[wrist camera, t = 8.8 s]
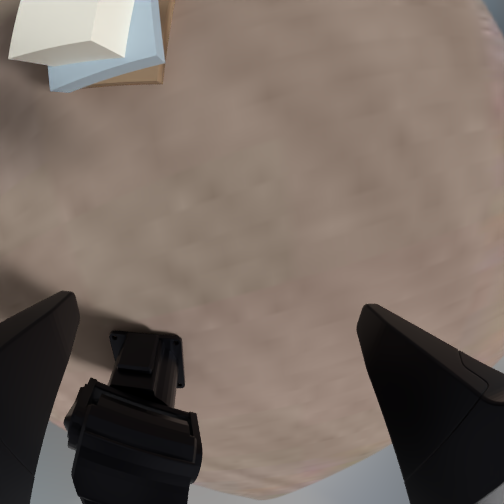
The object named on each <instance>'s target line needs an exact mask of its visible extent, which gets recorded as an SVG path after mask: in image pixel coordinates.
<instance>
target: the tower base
mask: <svg viewBox="0 0 504 504" xmlns="http://www.w3.org/2000/svg"><path fill="white" fill-rule="evenodd" d="M158 3H159V13H160V23H161V32H162V40H163V49H164V56H165V60H166V53H167V46H168V39H169V32H170V26H171V20H172V14H173V9H174V3H175V0H158ZM164 68H165V63H164V64H160V65H156V66H151V67H148V68H144V69H140V70H136V71H133V72H129V73H126V74H122V75H119V76H116V77H112V78H109V79H106V80H103V81H100V82H97V83H94V84H91V85H89V86H86V87H83V88H93V87H104V86H118V85H140V84H163V77H164ZM83 88H80V89H83Z"/></svg>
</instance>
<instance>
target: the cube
mask: <svg viewBox="0 0 504 504" xmlns="http://www.w3.org/2000/svg"><path fill="white" fill-rule="evenodd" d="M134 2H135V0H21V2H20V5H19V9H18V13H17V17H16V21H15V25H14V30H13V34H12V39H11V45H10V50H9V56H8V59H11V60H18V61H25V62H31V63H37V64H42V65H48V66H53V67H55V66H61V65H67V64H73V63H80V62H87V61H95V60H104V59H115V58H125V52H126V45H127V39H128V33H129V27H130V22H131V16H132V11H133V7H134Z"/></svg>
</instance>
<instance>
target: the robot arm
mask: <svg viewBox="0 0 504 504" xmlns="http://www.w3.org/2000/svg"><path fill="white" fill-rule="evenodd" d="M79 321H80V314H79V309H78V305H77V301H76V297H75V294H74V293H73V292H70V291H60V292H58V293H56V294H54V295H52V296H51V297H49V298H47V299H45V300H43V301H41V302H39V303H37V304H35V305H33V306H31V307H29V308H27V309H25V310H23V311H21V312H19V313H18V314H16V315H14V316H12V317H10V318H8V319H6V320H4V321H3V322H1V323H0V504H30V499H31V493H32V488H33V483H34V478H35V477H34V475H35V472H36V467H37V463H38V458H39V455H40V450H41V447H42V443H43V439H44V435H45V431H46V428H47V424H48V421H49V418H50V414H51V411H52V408H53V405H54V402H55V398H56V395H57V392H58V389H59V386H60V384H61V381H62V378H63V375H64V372H65V369H66V367H67V364H68V361H69V357H70V354H71V350H72V346H73V342H74V339H75V335H76V332H77V328H78V325H79ZM357 334H358V338H359V342H360V346H361V350H362V353H363V357H364V361H365V365H366V369H367V372H368V375H369V378H370V380H371V383H372V386H373V388H374V391H375V394H376V397H377V400H378V402H379V405H380V408H381V411H382V414H383V417H384V420H385V423H386V426H387V428H388V431H389V434H390V438H391V441H392V444H393V447H394V450H395V453H396V456H397V459H398V462H399V466H400V469H401V472H402V476H403V479H404V483H405V486H406V490H407V494H408V497H409V501H410V504H504V374H503V373H501V372H499V371H497V370H495V369H493V368H491V367H489V366H487V365H485V364H483V363H481V362H479V361H478V360H476V359H474V358H472V357H470V356H468V355H467V354H465V353H463V352H461V351H458V349H456V348H454V347H453V346H451V345H449V344H447V343H446V342H444V341H442V340H440V339H439V338H437V337H435V336H433V335H431V334H430V333H428V332H426V331H424V330H423V329H421V328H419V327H417V326H415V325H414V324H412V323H410V322H408V321H407V320H405V319H403V318H401V317H399V316H398V315H396V314H394V313H392V312H390V311H389V310H387V309H385V308H383V307H381V306H380V305H378V304H365V305H364V306H363V308H362V311H361V314H360V317H359V320H358V323H357ZM114 336H116V337H114ZM109 338H110V342H111V346H112V350H113V354H114V358H115V365H114V368H113V371H112V374H111V377H110V380H109V383H108V385H105V384H103V383H100V382H98V381H97V380H96V379H93V378H90V380H89V382H88V384H85V386H84V387H80V390H79V392H78V395H77V398H76V400H75V402H74V404H73V406H72V407H71V409H70V410H69V412H68V414H67V415H66V417H65V419H64V426H65V428H66V430H67V431H68V436H67V437H68V438H69V440H68V447H69V448H71V449H73V450H76V454H75V458H74V463H73V468H72V474H71V475H72V479H73V483H74V486H75V489H76V492H77V495H78V496H79V497H80V499H81V501H82V503H83V504H187V501H188V491H189V485H190V484H192V483H194V481H195V480H196V478H197V476H198V474H199V471H200V467H201V462H202V443H201V437H200V432H199V426H198V420H197V414H196V413H193V412H185V411H182V410H178V409H175V408H174V405H175V396H176V388H183V387H184V386H185V376H184V362H183V347H182V339H181V338H180V337H179V336H170V335H157V334H144V333H133V332H123V331H112V332H111V333H110V336H109ZM174 341H177V343H176V342H174ZM179 383H180V384H179Z"/></svg>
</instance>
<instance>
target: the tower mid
mask: <svg viewBox="0 0 504 504" xmlns="http://www.w3.org/2000/svg"><path fill="white" fill-rule="evenodd" d="M164 63H165V56H164V49H163V40H162V32H161V23H160V13H159V3H158V0H135V2H134V7H133V11H132V16H131V22H130V27H129V33H128V39H127V45H126V52H125V58H115V59H104V60H95V61H87V62H80V63H73V64H67V65H61V66H55V67H53V66H48V74H49V84H50V91H54V92H66V93H70V92H73V91H75V90H78V89H80V88H83V87H86V86H89V85H91V84H94V83H97V82H100V81H103V80H106V79H109V78H112V77H116V76H119V75H122V74H126V73H129V72H133V71H136V70H140V69H144V68H148V67H151V66H156V65H160V64H164Z"/></svg>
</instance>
